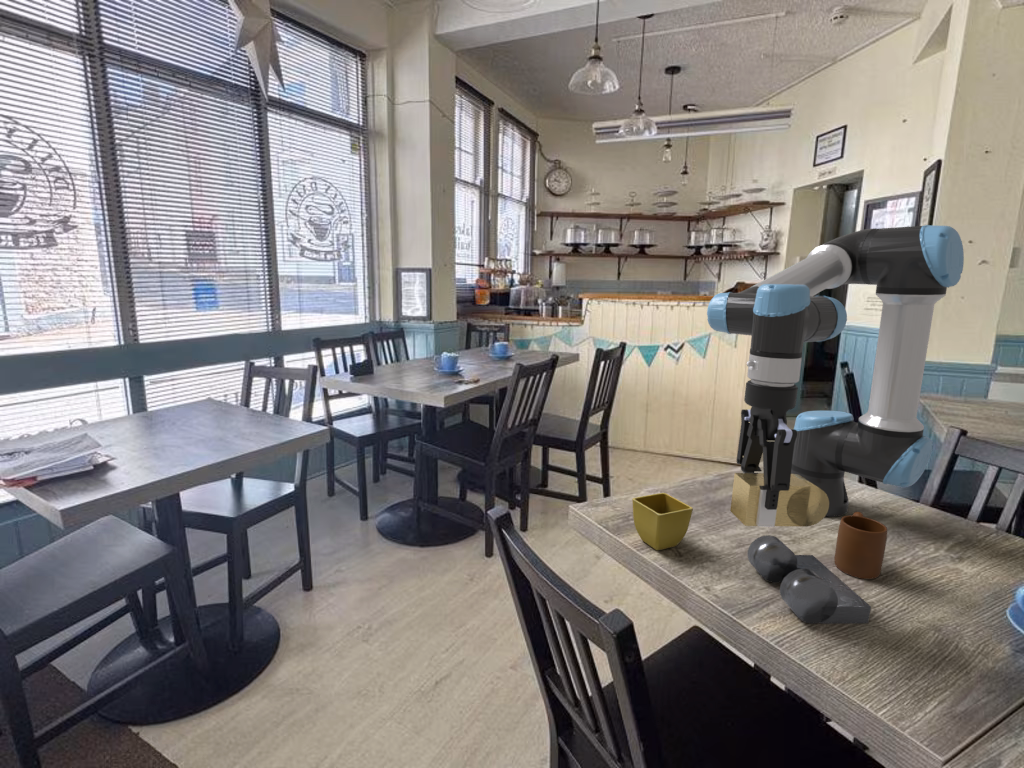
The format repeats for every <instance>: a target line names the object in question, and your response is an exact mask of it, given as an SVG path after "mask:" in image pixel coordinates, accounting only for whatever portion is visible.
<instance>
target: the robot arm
mask: <svg viewBox="0 0 1024 768" xmlns="http://www.w3.org/2000/svg"><path fill="white" fill-rule="evenodd" d="M961 238H962V237H961V236H960V233H959V232H958V231H957V230H956V229H955V228H954V227H953V226H948V225H932V224H931V225H930V224H925V225H917V226H916V225H915V226H914V225H913V226H900V227H881V228H867V229H866V228H865V229H861V230H858V231H857V230H856V231H853V232H850V233H847V234H845V235H840V236H838V237H836V238H834V239H830V240H829V241H826V242H825V243H822V244H821V245H818V246H816V247H815V248H814V249H812V250H811V251H810V252H809V254H807V257H806V258H804V259H802V260H799V261H798V262H796V263H794V264H792V265H790V266H788V267H787V268H785V269H783V270H781V271H779V272H777V273H775V274H773V275H771V276H769V277H768V278H766V279H764V280H761V281H760V282H758V283H756V284H754V285H752V286H751V287H748V288H746V289H744V290H741V291H740V292H732V291H729V292H719V293H717V294H715V295H714V296H713V297H712V298H711V299H710V300H709V303H708V306H707V310H706V315H707V322H708V325H709V327H710V328H711V329H712V330H713V331H716V332H720V333H726V334H728V335H741V336H742V335H743V336H751V338H750V340H751V341H750V348H749V358H748V360H747V362H746V366H747V373H746V374H747V375H746V376H747V378H748V379H749V380H747V382H746V383H745V391H744V397H743V399H744V400H743V401H744V403H745V404H746V405H747V406H750V409H741V412H740V415H741V416H740V420H741V425H740V431H739V437H738V447H737V454H736V464H737V465H740V471H741V472H742V473H755V472H762V471H763V473H764V486H759V487H760V495H759V503H758V512H757V520H756V525H757V526H756V527H766V528H767V527H773V528H774V527H776V526H775V519H776V511H777V505H778V497H779V492H780V491H788V490H789V488H790V478H791V474H797V475H800V476H802V477H803V478H805V479H806V480H808V481H809V482H811V483H812V484H814V485H815V486H817V487H818V488H820V489H821V490H823V491H824V492H825V493H826V494H827V496H828V499H829V509H828V512H827V514H826V516H825V517H839V516H840V517H841V516H845V515H846V514H847V513H848V512H849V505H850V504H849V503H850V501H849V496H848V493H847V488H846V483H845V474H846V473H848V474H851V475H855V476H858V477H861V478H864V479H865V478H866V479H870V480H872V481H875V482H879V483H882V484H883V485H891V486H894V487H899V488H908V487H911V486H912V485H914V484H916V482H918V481H919V479H920V478H921V476H922V475H923V473H924V472H925V471H926V468H927V466H928V464H929V461H930V460H931V456H932V454H933V443H934V442H933V440H932V439H931V438H930V437H928V436H924V430H925V426H924V424H923V423H922V422H921V421H920V420H919V419H918V417H917V416H918V409H919V404H920V397H921V389H922V383H923V378H924V372H925V366H926V361H927V360H926V359H927V354H928V347H929V341H930V334H931V328H932V321H933V316H934V309H935V304H936V303H938V301H940V300H941V299H943V298H945V296H947V289H948V288H952V287H955V286H956V285H958V283H959V282H960V280H961V277H962V276H961V274H963V271H964V263H965V258H964V257H965V256H964V245H963V241H962V239H961ZM842 285H867V286H868V285H873V286H874V285H875V286H876V288H875V295H876V297H878V299H879V300H880V301H881V302H882V308H881V315H880V322H879V328H878V338H877V343H876V344H877V345H876V350H875V351H876V352H875V359H874V365H873V372H872V373H873V374H872V379H871V380H872V381H871V389H870V393H869V394H870V395H869V402H868V409H867V412H866V413H864V414H863V415H861V416H859V417H858V421H857V422H855V421H854V419H855V418H854V416H853V414H852V413H849V412H846V411H839V410H808V411H804V412H801V413H799V414H798V415H797V416H796V418H795V422H794V427H793V429H790V427H789V426H788V425H787V424H788V420H787V419H788V418H787V412H788V411H790V410H793V409H795V408H796V405H797V399H798V391H799V390H798V389H799V388H798V386H797V385H796V384H797V383H799V382H800V377H801V376H800V375H801V367H802V359H803V349H804V343H813V342H816V343H822V342H825V341H827V340H831V339H833V338H835V337H838V336H839V335H840V334H841V332H842V331H844V329H845V327H846V324H847V321H848V314H847V310H846V307H845V306H844V305H843V303H842V302H840V300H838V299H837V298H834V297H832V296H831V297H830V296H826V295H817V294H819V293H820V292H822V291H824V290H831V289H836V288H838V287H840V286H842ZM761 461H762V465H763V467H762V468H763V470H762V468H761V467H760V463H761Z"/></svg>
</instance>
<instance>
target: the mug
mask: <svg viewBox="0 0 1024 768" xmlns="http://www.w3.org/2000/svg"><path fill="white" fill-rule="evenodd" d="M887 540H888V528H887V526H886V524H885V525H884V523H882V522H880V521H877V520H875V519H872V518H871V517H865V515H864V514H863V513H862V512H860V511H854V512H853V513H852V515H843V516H842V517H841V519H840V522H839V525H838V530H837V538H836V544H835V550H834V551H835V552H834V557H833V558H834V560H833V562H834V564H835V566H836V567H837V569H838V570H839V571H841V572H842V573H844V574H847V575H849V576H851V577H855V578H858V579H864V580H874V579H876V578H879V576H880V575H881V573H882V568H883V563H884V558H885V552H886V545H887Z"/></svg>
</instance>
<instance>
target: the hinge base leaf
mask: <svg viewBox="0 0 1024 768" xmlns="http://www.w3.org/2000/svg"><path fill="white" fill-rule="evenodd" d="M747 560H748V562H749V564H751V566H752V567H753V568H754V569H755V570H756V571H757V573H758V574H759V575H760V576H761V577H762V578H763V579H764V580H765V581H768V582H769V583H773V584H774V583H778V584H779V583H780V586H779V594H780V597H781V600H782V601H784V603H785V604H786V605H787V607H789V609H791V611H792V612H793V613H794V615H795V616H796V617H797V618H799V620H801V621H802V622H804V623H807V624H811V625H812V624H813V625H814V624H869V623H870V622H869V621H870V614H871V608H872V606H871V605H870V604H869V602H867V601H866V600H864V599H863V598H862V597H861V596H860V595H859V594H857V593H856V592H855V591H854V590H853V589H852V588H851V587H850V586H848V585H847V584H846V583H845V582H844V581H843V580H842V579H840V578H839V577H838V576H837V575H836V574H834V573H835V572H832V571H831V569H829V568H828V567H827V566H826V565H825V564H823V563H822V562H821V561H820V560H819V559H818V558H817V557H815V556H814V555H813V554H795V552H793V550H792V549H790V548H789V547H788V546H787V545H786V544H785V543H784V542H783V541H782V540H781V539H780V538H778V537H776V536H774V535H769V534H768V535H767V534H766V535H762V536H759V537H758V538H757V537H756V539H754V540H753V541H752V542H751V543H750V545H749V547H748V550H747Z"/></svg>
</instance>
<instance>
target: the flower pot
mask: <svg viewBox="0 0 1024 768" xmlns="http://www.w3.org/2000/svg"><path fill="white" fill-rule="evenodd" d="M631 501H632V516H633V517H632V518H633V523H634V527H635V529H636V532H637V534H638V536H639V538H640V539H641V541H642V542H644V543H645V544H647V545H648V546H649V547H651V548H653V549H654V550H656V551H661V550H665V549H666V550H667V549H670V548H674V547H676V546H678V545H679V543H681V542H682V540H683V539H684V538H685V536H686V534H687V532H688V529H689V526H690V523H691V519H692V515H693V509H694V507H692V506H690V505H689V504H686V503H685V502H683V501H681V500H679V499H677V498H676V497H673V496H671V495H670V494H668V493H666V492H660V493H659V492H658V493H653V494H648V495H641V496H636V497H633V498H631Z"/></svg>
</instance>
